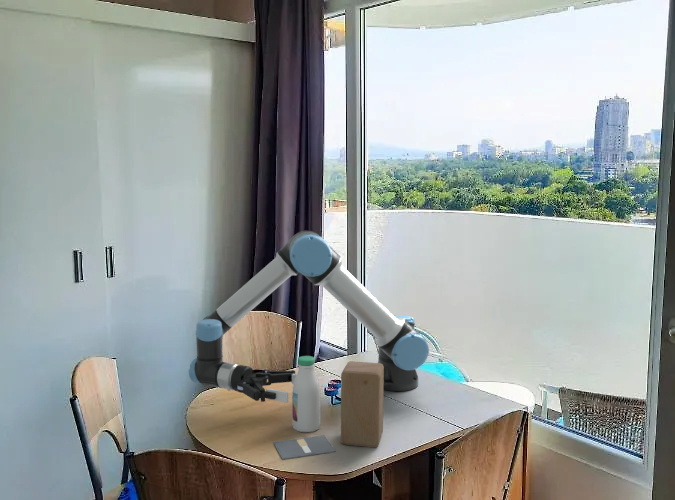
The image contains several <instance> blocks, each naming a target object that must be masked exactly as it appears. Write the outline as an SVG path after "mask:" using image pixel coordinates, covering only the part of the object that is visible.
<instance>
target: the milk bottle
mask: <svg viewBox="0 0 675 500" xmlns="http://www.w3.org/2000/svg"><path fill="white" fill-rule="evenodd" d="M315 360H316V358H315V357H314V356H311V355H302V356H299V357H298V358H297V366H298V371H297V373H296V374H297V376H296V378H295V380H294V384H293V383H292V384H293V386H292V395H291V396H292V399H291V400H292V404H291V405H292V406H291V407H292V409H291V411H292V428H293V430H295V431H296V432H300V433H313V432H316V431H318V430H319V429H320V427H321V386H320V381H319V378H318V377H317V374H316V372H315Z"/></svg>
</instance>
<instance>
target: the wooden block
mask: <svg viewBox="0 0 675 500" xmlns="http://www.w3.org/2000/svg"><path fill="white" fill-rule="evenodd" d="M340 376H341V377H340V378H341V379H340V380H341V381H340V385H341V386H340V387H341V388H340V442H341V444H342V445H346V446H356V447H367V448H377V447H378V446H379V444H380V442H381V439H382V435H383V431H384V389H383V387H384V366H383V364H381V363H378V362H370V361H369V362H367V361H366V362H365V361H355V360H354V361H353V360H352V361H347V363H346V365H345V366H344V368H343V369H342V371H341V374H340Z"/></svg>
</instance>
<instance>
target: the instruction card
mask: <svg viewBox="0 0 675 500" xmlns="http://www.w3.org/2000/svg"><path fill="white" fill-rule="evenodd" d="M272 443H273V445H274V447H275V449H276V450H277V453H278V454H279V457H280V458H281V460H282V461H284V460H290V459H297V458H303V457H312V456H317V455H318V456H319V455H324V454H325V455H326V454H330V453H336V452H337V449H336V448H335V447H334V446H333V445H332V443H331V442H330V441H329V440H328V438H327V437H326V435H325V434H323V435H321V434H320V435H314V436H308V437H301V438H294V439H293V438H291V439H286V440H285V439H284V440H278V441H273V442H272Z"/></svg>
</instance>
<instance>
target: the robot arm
mask: <svg viewBox="0 0 675 500" xmlns="http://www.w3.org/2000/svg"><path fill="white" fill-rule="evenodd" d="M298 274H301V275H303V276H304V277H305V278H306V279H308V280H309V282H311V284H312V285H313V286H322V287H323V288H324V289H325V290H326V291H327V292H328V293H329V294H330V295H331V296H332V297H334V299H335V300H336V301H337V302H338V303H340V304H341V305H342V306H343V307H344V308H345V309H346V310H347V311H348V312H349V313H350V314H351V315H352V316H353V317H354V318H355V319H356V320H357V321H358V322H359V323H360V324H361V325H362V326H363V327H364V328H365V329H367V330H368V331H369V332H370V333H371V334H372V335H373V336H374V337H375V344H376V346H377V347H378V360H377V363H381V364H383V366H384V387H383V391H384V390H385V391H390V392H407V391H411V390H414V389H416V388H417V387H418V386H419V376H418V371H417V369H418V368H420V367H421V366H423V365H424V364H425V362H426V361H427V359H428V357H429V354H430V353H429V352H430V349H429V348H430V347H429V344H428V342H427V339H426V338H425V336H423V335H421V333H419V332H418V331H417V330H416V329H415V324H416V322H415V318H414V317H413V316H410V315H398V314H397V315H394V314H393V313H392V312H391V311H390V310H389V309H388V308H387V307H385V305H384V304H382V303H381V302H380V301H379V300H378V299H377V298H376V297H375V296H374V295H373V294H372V293H371V292H370V291H369V290H368V289H367V288H366V287H365V285H363V284H362V283H361V282H360V280H358V279H357V278H356V277H355V276H354V275H353V274H352V273H351V272H350V271H348V269H347V268H346V267H345V266H344V265H343V264H342V256H341V255H340V254H339V253H338V252H336V250H335V249H333V247H331V246H330V245H329V243H328V242H327V241H326V240H325V239H324V238H323V237H321V235H319V233H317V232H315V231H312V230H302V231H298V232H297V233H296V234H294V235H293V236H291V238H290V239H289V240H288V241H287V242H286V243H285V244H284V245H283V246H282V247H281V248H280V249H279V250H278V251H277V252H276V256H275V258H274V259H272V261H270V262H269V263H268V264H267V265H265V267H263V268H262V269H261V270H260V271H259V272H257V273H256V274H255V275H254V276H252V278H251V279H249V280H248V281H247V282H246V283H245V284H244V285H243V286H241V288H239V289H238V290H237V291H236V292H234V294H232V295H231V296H230V297H229V298H228V299H226V301H224V302H223V303H222V304H221V305H219V307H217V308H216V310H214V311H213V312H212V313H211V314H208V315H206V316H205V317H204V318H203V319H202V320H199V321H198V322H197V323H196V327H195V328H196V330H195V336H196V354H197V355H196V358H195V359H193V360H192V361H191V363H190V364H189V367H190V368H189V369H188V377H189V380H190V381H192V382H193V383H196V384H198V385H199V384H200V385H202V386H208V387H209V386H210V387H214V388H219V389H225V390H227V391H234V392H238V393H241V394H244V395H245V396H247V397H249V398H251V399H252V400H254V401H255V402H258V401H260V402H263V403H264V402H266V399H268V400H271V401H276V402H281V403H288V402H289V392H288V391H286V390H285V391H283V390H279V389H274V388H268V387H267V388H266V389H265V388H264V387H265V386H271V385H272V384H282V383H292V384H294V380H295V378H296V376H297V374H298V373H296V370H294V369H292V370H275V369H274V370H271V369H270V370H269V369H262V371H261V372H260V371H259V372H255V370H254V369H253V368H252V367H251V366H249V365H243V364H237V363H231V362H226V361H225V362H224V359H223V357H224V356H223V337H224V335H225V334H226V333H228V332H229V330H231V329H232V328H233V327H234V326H235V325H236V324H238V323H239V322H240V321H241V320H242V319H243V318H245V317H246V316H247V315H248V314H249V313H250V312H251V311H253V309H255V308H256V307H257V306H258V305H260V303H262V302H263V301H265V299H266V298H267V297H268V296H270V295H271V294H272V293H273V292H274V291H276V290H277V289H278V288H279V287H280V286H282V284H283V283H285V282H286V281H287V280H288V279H289V278H290V277H292V276H298Z"/></svg>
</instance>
